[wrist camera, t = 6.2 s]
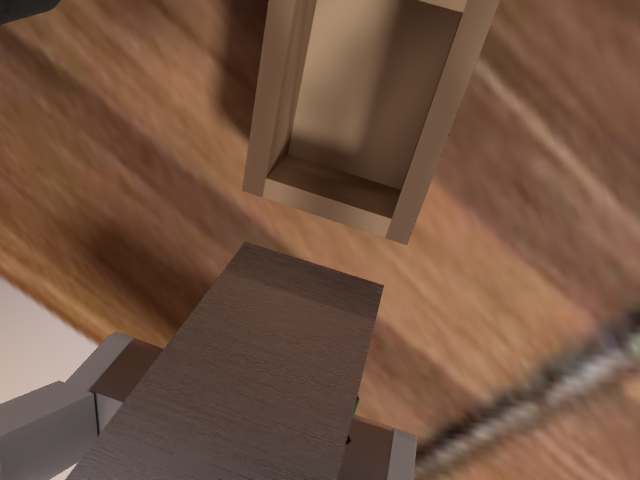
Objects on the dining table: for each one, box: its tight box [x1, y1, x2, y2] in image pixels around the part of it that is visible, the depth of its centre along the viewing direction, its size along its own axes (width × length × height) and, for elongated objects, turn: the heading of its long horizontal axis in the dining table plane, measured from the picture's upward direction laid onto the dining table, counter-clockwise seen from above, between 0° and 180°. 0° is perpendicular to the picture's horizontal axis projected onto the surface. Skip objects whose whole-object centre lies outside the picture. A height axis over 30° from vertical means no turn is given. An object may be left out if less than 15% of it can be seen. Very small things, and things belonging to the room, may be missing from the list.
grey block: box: [65, 242, 384, 480], centre depth 12 cm, size 4×7×8 cm, turn 169°
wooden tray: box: [242, 0, 500, 245], centre depth 25 cm, size 9×12×4 cm
